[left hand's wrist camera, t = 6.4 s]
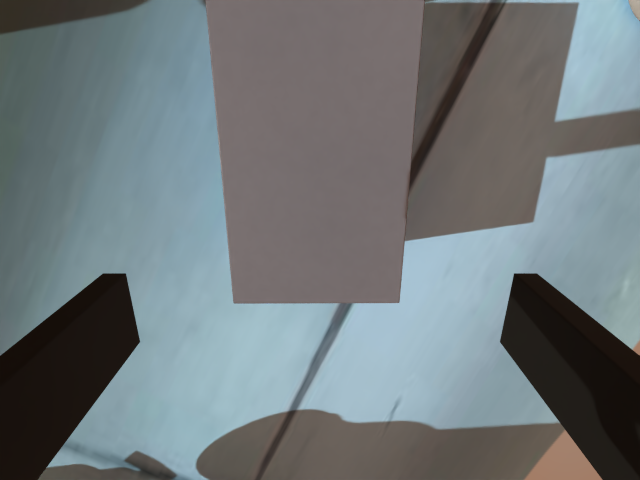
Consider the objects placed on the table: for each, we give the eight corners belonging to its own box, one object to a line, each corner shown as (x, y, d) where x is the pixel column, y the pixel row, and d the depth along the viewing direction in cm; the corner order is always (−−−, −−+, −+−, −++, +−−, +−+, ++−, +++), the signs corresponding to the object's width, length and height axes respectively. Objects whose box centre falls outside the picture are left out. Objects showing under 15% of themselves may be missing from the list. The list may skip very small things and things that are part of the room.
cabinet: (244, 35, 26) (205, -2, 17) (387, 35, 26) (425, -2, 17) (257, 245, 32) (233, 303, 23) (375, 245, 32) (399, 303, 23)
